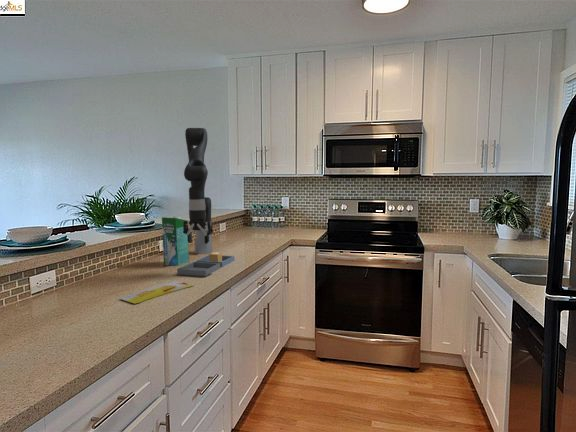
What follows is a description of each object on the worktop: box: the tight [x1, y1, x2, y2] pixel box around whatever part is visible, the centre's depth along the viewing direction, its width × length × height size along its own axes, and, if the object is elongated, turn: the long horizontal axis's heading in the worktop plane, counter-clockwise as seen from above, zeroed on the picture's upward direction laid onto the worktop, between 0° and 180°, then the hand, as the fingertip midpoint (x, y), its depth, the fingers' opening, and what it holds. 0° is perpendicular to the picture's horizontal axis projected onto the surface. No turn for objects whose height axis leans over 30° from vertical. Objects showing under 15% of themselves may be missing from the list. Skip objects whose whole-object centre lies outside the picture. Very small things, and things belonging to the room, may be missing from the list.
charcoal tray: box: [176, 261, 221, 278], centre depth 176 cm, size 15×15×3 cm
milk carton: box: [161, 216, 190, 267], centre depth 192 cm, size 9×9×25 cm
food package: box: [119, 281, 194, 304], centre depth 146 cm, size 27×2×10 cm
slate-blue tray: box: [195, 254, 235, 268], centre depth 193 cm, size 15×15×3 cm
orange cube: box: [208, 251, 223, 262], centre depth 192 cm, size 5×5×5 cm
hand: (198, 243), depth 175 cm, fingers open, 8 cm apart
